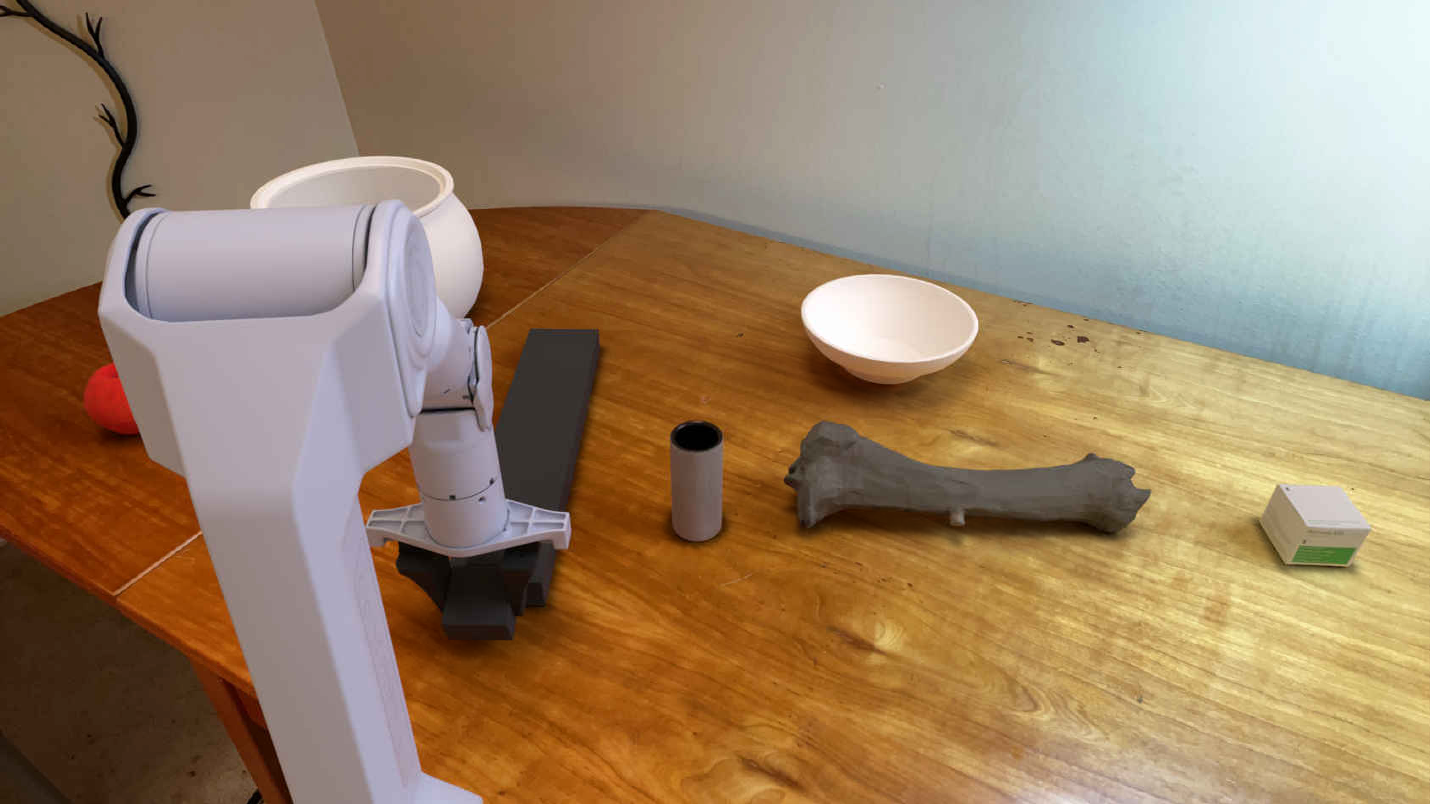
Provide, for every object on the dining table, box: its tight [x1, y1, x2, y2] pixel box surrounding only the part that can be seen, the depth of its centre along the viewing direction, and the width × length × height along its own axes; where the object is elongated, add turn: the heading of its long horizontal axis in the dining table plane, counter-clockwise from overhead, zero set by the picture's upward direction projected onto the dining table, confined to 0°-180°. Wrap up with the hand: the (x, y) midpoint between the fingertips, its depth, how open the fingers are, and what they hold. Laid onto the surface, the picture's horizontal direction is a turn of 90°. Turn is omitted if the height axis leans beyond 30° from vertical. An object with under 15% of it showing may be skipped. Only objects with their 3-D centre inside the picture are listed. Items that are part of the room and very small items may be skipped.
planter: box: [669, 419, 724, 542], centre depth 80 cm, size 4×4×10 cm
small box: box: [1258, 483, 1372, 568], centre depth 80 cm, size 6×6×5 cm
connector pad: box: [440, 548, 518, 641], centre depth 72 cm, size 8×5×3 cm, turn 179°
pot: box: [249, 155, 485, 319], centre depth 110 cm, size 29×26×16 cm
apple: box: [83, 362, 140, 436], centre depth 92 cm, size 8×8×7 cm
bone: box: [783, 420, 1152, 534], centre depth 82 cm, size 32×10×9 cm, turn 87°
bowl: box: [800, 273, 979, 385], centre depth 103 cm, size 20×20×7 cm
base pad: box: [449, 328, 601, 607], centre depth 90 cm, size 40×8×3 cm, turn 179°
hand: (485, 606), depth 71 cm, fingers closed on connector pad, 5 cm apart
